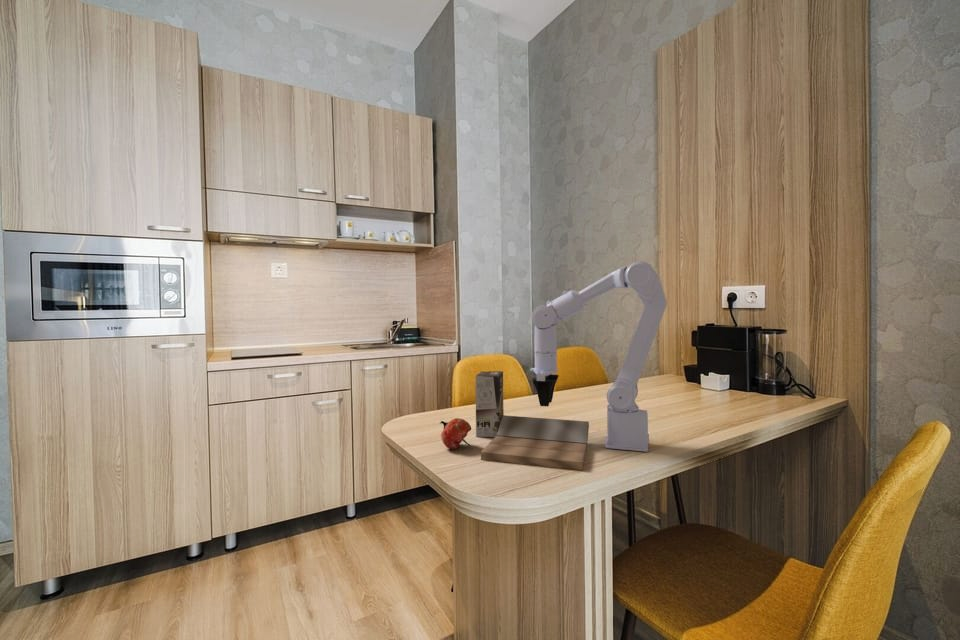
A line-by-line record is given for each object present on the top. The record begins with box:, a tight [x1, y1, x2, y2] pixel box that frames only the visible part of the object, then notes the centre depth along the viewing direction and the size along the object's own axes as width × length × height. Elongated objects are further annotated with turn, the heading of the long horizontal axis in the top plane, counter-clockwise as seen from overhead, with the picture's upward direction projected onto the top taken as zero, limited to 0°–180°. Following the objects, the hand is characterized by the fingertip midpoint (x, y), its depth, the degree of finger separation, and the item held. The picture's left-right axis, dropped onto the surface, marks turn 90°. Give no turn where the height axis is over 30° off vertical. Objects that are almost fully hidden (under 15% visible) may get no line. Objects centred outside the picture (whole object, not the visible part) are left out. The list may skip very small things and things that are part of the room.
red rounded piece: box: [439, 417, 474, 451], centre depth 103 cm, size 7×7×10 cm
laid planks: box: [480, 436, 588, 471], centre depth 97 cm, size 22×12×2 cm, turn 71°
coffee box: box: [474, 370, 505, 439], centre depth 114 cm, size 9×6×16 cm
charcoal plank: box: [497, 414, 590, 445], centre depth 106 cm, size 22×7×2 cm
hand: (546, 404), depth 111 cm, fingers open, 4 cm apart
